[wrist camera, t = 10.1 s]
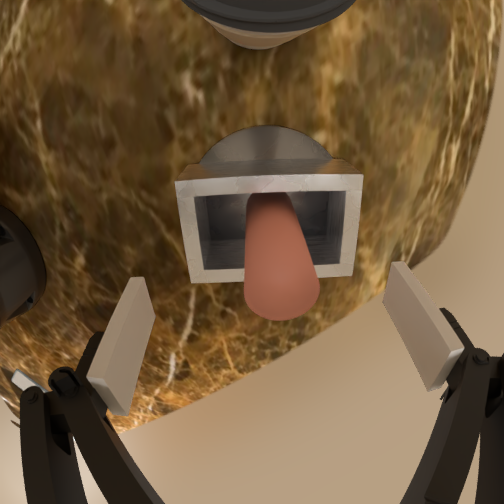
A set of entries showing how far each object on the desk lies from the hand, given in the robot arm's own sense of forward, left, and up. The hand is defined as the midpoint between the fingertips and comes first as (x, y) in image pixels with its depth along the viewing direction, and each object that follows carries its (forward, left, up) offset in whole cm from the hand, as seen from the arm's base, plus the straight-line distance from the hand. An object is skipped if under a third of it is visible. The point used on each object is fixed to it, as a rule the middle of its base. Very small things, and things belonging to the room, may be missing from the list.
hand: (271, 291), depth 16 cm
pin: (+1, 0, -12) cm, 12 cm away
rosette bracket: (0, 0, -13) cm, 13 cm away
